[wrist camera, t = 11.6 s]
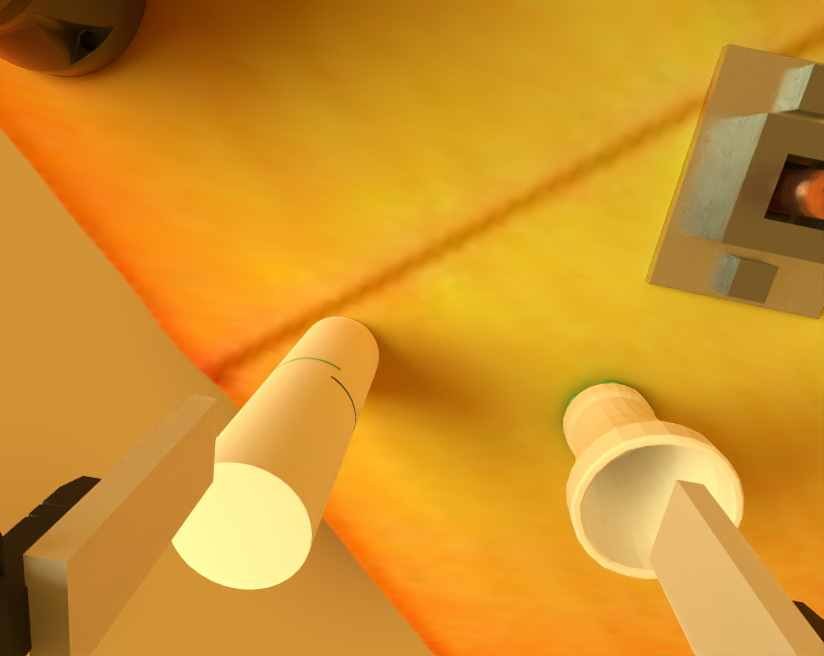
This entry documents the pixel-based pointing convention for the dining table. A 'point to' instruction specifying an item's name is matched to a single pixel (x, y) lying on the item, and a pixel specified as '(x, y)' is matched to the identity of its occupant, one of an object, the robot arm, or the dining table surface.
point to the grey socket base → (748, 188)
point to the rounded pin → (799, 193)
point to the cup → (634, 474)
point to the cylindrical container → (281, 460)
